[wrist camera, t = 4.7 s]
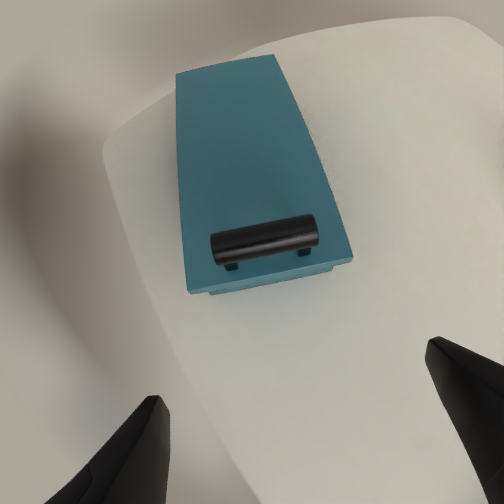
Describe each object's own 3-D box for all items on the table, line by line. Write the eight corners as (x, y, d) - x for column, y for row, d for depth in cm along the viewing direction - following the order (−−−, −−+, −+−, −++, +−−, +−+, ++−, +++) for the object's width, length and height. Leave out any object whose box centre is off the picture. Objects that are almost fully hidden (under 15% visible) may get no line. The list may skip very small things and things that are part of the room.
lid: (351, 262, 17) (366, 231, 14) (191, 294, 18) (166, 272, 14) (274, 60, 26) (271, 26, 22) (177, 80, 26) (166, 47, 22)
